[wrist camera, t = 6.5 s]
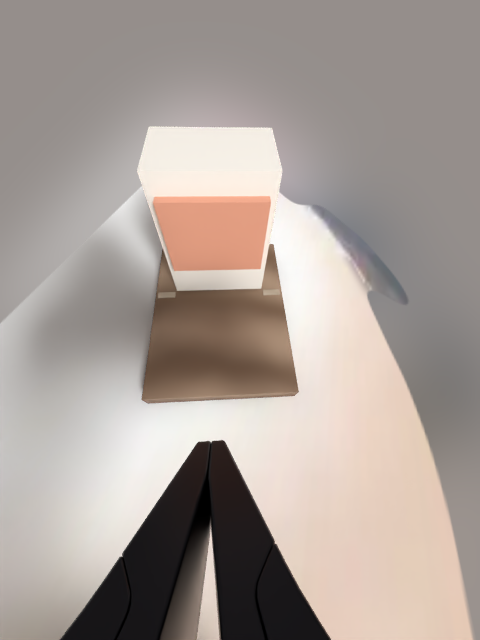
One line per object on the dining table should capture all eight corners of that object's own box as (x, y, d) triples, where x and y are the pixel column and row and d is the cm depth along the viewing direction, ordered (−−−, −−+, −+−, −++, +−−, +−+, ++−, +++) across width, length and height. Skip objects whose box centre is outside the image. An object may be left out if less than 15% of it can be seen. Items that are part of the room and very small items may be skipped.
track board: (294, 395, 20) (298, 391, 19) (147, 403, 19) (141, 399, 18) (271, 254, 28) (273, 243, 26) (166, 256, 27) (162, 245, 26)
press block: (261, 293, 23) (283, 177, 13) (176, 296, 22) (135, 177, 13) (256, 250, 25) (271, 127, 16) (180, 251, 25) (148, 126, 15)
